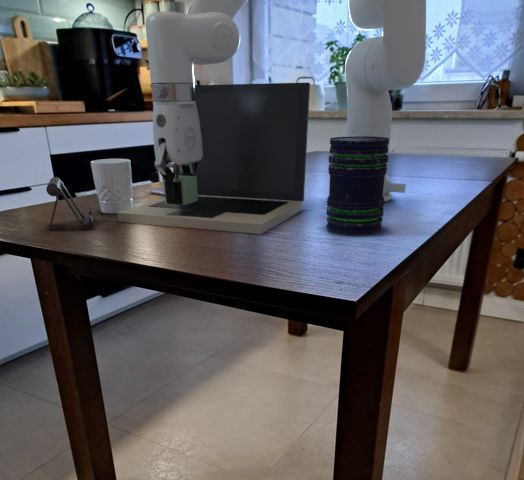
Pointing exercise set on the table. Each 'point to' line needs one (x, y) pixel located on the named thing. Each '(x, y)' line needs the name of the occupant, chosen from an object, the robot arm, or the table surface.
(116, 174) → the white cup
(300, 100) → the laptop screen
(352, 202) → the storage jar
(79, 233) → the table surface
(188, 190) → the block
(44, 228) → the table surface
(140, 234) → the table surface
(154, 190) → the mobile phone
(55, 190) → the tablet stand
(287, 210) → the laptop base
